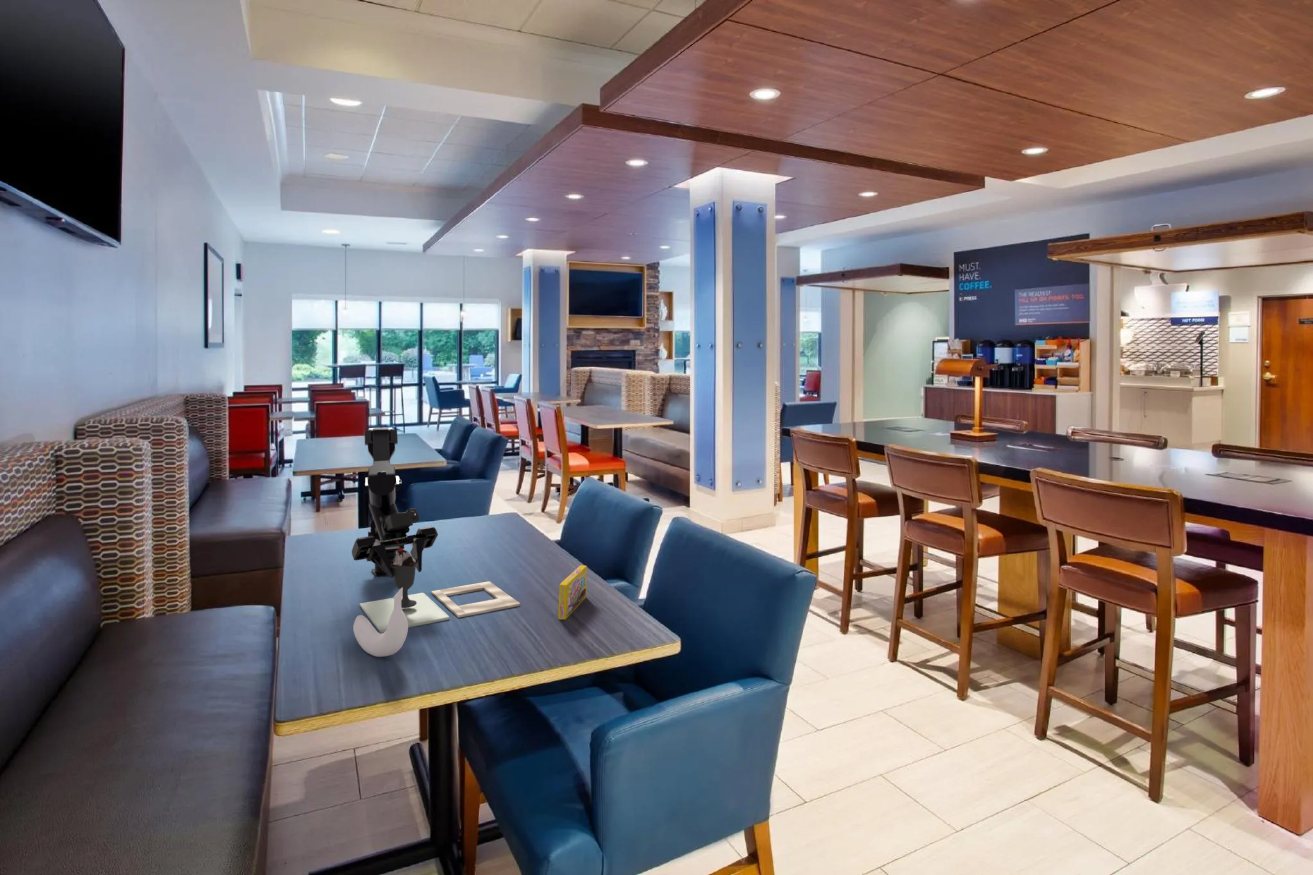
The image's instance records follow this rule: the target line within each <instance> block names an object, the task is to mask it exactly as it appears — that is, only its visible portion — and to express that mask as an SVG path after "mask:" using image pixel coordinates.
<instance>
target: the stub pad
mask: <svg viewBox="0 0 1313 875" xmlns="http://www.w3.org/2000/svg"><path fill="white" fill-rule="evenodd" d="M408 598H409V599H410V600H414V601H416V602H417V604H416V605H415V606H412V607H409V608H402V611H403V613H404V614H405V616H406V618H407V621H408V628H412V627H418V626H423V625H428V624H433V623H437V622H444V621H448V620H449V621H450V616H449V615H448V614H447V613H446V612H445V610H443V609H441V608H440V606H438V605H437V604H436V603H435V602H434V601H433V600H432V599H431V598H430V597H429V596H428V595H427V594H425V593H424V592H419V593H414V594H413V593H412V594H408ZM359 608H360V609H362V611H363V612H364V613H365V615H366V617H368V620H370V622H371V624H373V625H374V627H375V629H377V630H378V632H379V633H380V634H382V633H384V632H385V631H386V630H387V626H388V623H389V619H390V616H391V614H392V611H393V609H394V597H389V598H385V599H378V600H372V601H367V602H361V603H359Z"/></svg>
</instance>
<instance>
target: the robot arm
mask: <svg viewBox="0 0 1313 875" xmlns="http://www.w3.org/2000/svg"><path fill="white" fill-rule="evenodd" d="M363 433H364V446H367V451H368V454H369V456H370V457H371V459H372V461H373V464H372V465H371V466H370V467H368V470H367V472H368V473H367V474H368V476H367V477H365V480H364V481H365V483H364V485H365V486H364V487H365V488H364V489H365V493H368V495H369V503H368V507H369V510H370V513H371V515H372V520H371V522H370V530H367V536H362V537H357V538H356V540H355V541H354V544H353V546H352V549H351V556H352V558H353V559H352V560H354V561H362V560H366V562H371V563H373V564H374V568H372V569H371V568H370V569H371V573H373V575H375V577H384V576H388V577H390V578H392V579H394V573H393V570H392V567H390V566H391V565H390V561H393V559H394V557H395V555H396V554H397V550H398V549H399V548H400V547H401V548H402V549H403V550H405V546H406V545H410V546H411V550H410V552H409V553H410V555H411V556H412V557H413V558H414V559H416V560H419V562H418V563H417V564H416V568H415V569H416V570H417V571H418V573H421V572H422V570H423V566H422V565H423V551H424V549H428V548H429V549H430V548H431V547H433V545H434V543H435V541H436V539H437V538H438V537H439V536H438V535H439V533H438V531H437V528H435V527H434V526H432V525H431V526H426V527H425V526H424V527H420V528H419V527H418V529H417V531H416V533H415V534H411V535H408V534H407V533H410V531H411V530H410V527H412V526H413V525H414V524H416V523H418V522H419V521H420V516H419V512H418V510H417V508H416V507H414V508H413V507H412V508H408V509H407V510H406V511H405V512H399V510H398V508H397V505H396V498H397V496H396V495H397V491H400V489H402V486H403V485H402V479H400V476H399V475H396V467H395V466H394V465H393V464H391V460H392V457H393V456H394V454H395V452H396V445H398V444H399V443H398V430H397V429H393V427H372V428H368V430H364V432H363ZM396 540H398V542H399V544H400V546H399V544H398V543H397V542H396Z"/></svg>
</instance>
